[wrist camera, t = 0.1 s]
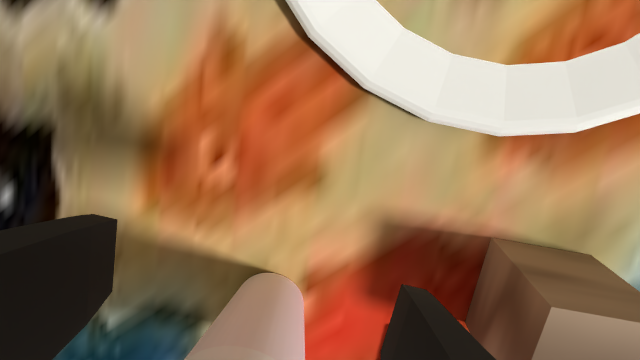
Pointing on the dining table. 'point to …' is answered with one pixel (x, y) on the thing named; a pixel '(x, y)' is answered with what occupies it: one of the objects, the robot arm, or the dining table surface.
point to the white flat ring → (472, 75)
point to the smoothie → (257, 323)
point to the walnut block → (552, 306)
